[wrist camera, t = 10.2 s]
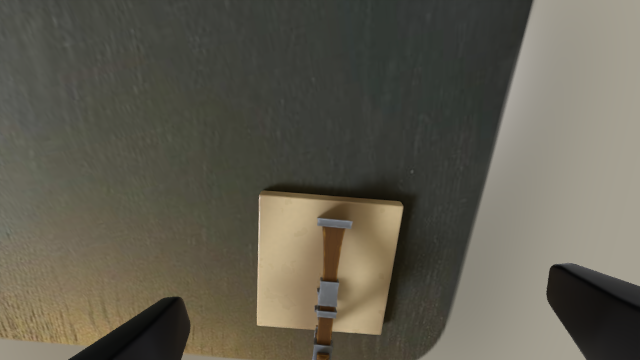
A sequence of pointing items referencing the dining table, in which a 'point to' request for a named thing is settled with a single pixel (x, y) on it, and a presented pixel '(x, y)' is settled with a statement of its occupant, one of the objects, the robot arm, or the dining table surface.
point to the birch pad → (307, 259)
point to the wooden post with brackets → (328, 285)
